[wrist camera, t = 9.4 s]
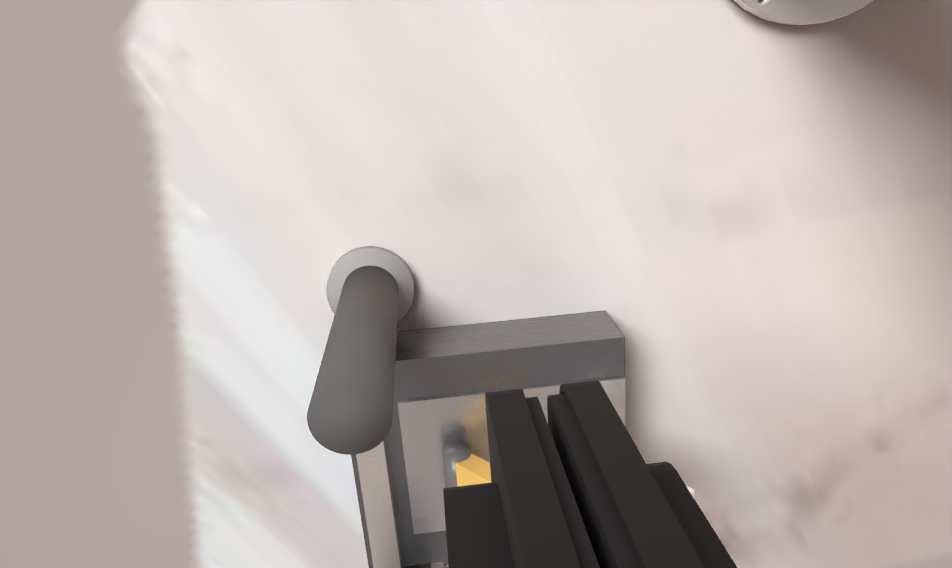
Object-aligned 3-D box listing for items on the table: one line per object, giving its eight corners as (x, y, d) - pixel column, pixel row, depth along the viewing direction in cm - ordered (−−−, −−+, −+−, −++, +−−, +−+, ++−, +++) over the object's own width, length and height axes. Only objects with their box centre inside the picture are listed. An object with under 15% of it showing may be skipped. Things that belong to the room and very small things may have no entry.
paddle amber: (456, 438, 38) (564, 493, 33) (461, 490, 40) (566, 552, 34) (436, 451, 37) (543, 510, 32) (441, 504, 39) (546, 569, 33)
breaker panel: (605, 310, 41) (629, 343, 37) (606, 499, 46) (627, 548, 41) (344, 337, 40) (335, 374, 36) (372, 527, 45) (368, 580, 40)
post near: (409, 242, 39) (408, 351, 25) (418, 321, 40) (422, 466, 26) (322, 250, 38) (272, 366, 24) (334, 330, 40) (294, 481, 26)
